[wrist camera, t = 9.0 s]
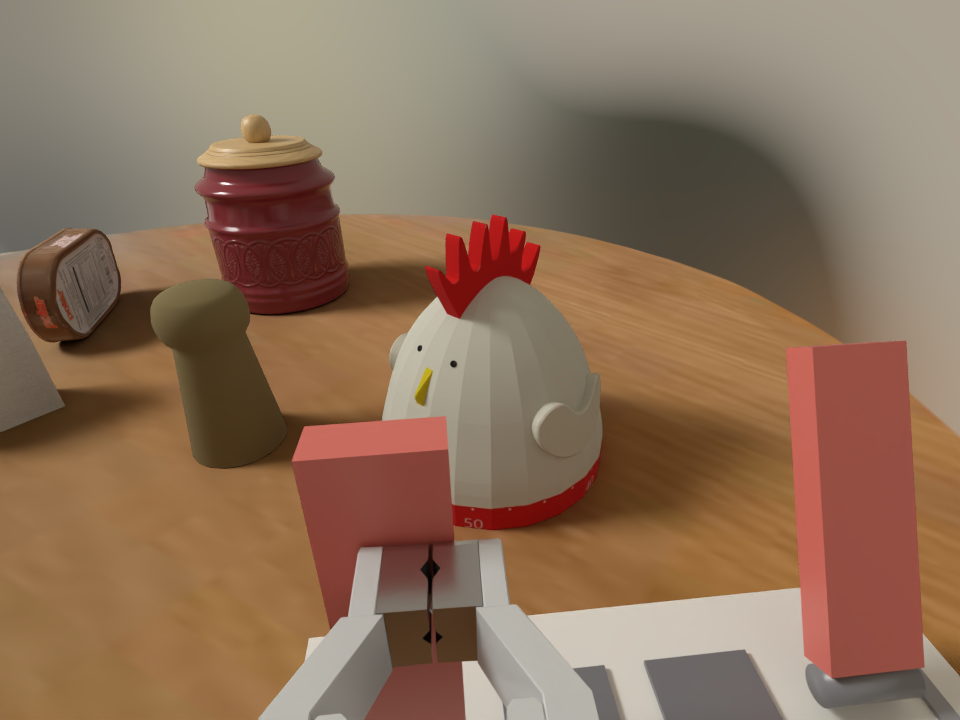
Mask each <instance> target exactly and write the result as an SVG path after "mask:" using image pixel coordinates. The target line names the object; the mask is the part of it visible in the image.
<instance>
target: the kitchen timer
mask: <svg viewBox="0 0 960 720" xmlns="http://www.w3.org/2000/svg"><path fill="white" fill-rule="evenodd" d="M525 238H526V232H525V231H521V230H516V229H511V230H510V232H509V231H508V222H507V218H506V217H501V216H497V215H492V217H491V221H490V228H489V230H488V225H487V224H484V223H480V222H475V221H473V223H472V228H471V234H470V242H469V252H468V255H467V251H466V248H465V244H464V242H463V239H462V238H461V237H459V236H455V235H451V234H446V276H445V275H444V274H443V273H442V272H441V271H440V270H437V269H434V268H431V267H428V266H425V269H426V273H427V276H428V279H429V281H430V284H431V286H432V287H433V289H434V291H435V293H436V295H437V297H436V298H435V299H434V300H433V302H432V303H431V304H430V305H429V306H428V307H427V308H426V309H425V310H424V311H423V312H422V314H421V315H420V316H419V317H418V319H417V320H416V321H415V323H414V324H413V326H412V327H411V329H410V331H409V332H408V333H405V334H402V335H400V336H399V337H398V338H397V339H396V340H395V342H394V344H393V346H392V348H391V350H390V354H389V363H390V366H391V369H392V370H393V373H392V376H391V380H390V384H389V389H388V393H387V397H386V401H385V406H384V411H383V417H382V421H386V420H399V419H413V418H427V417H440V416H446V424H447V438H448V452H449V468H450V483H451V499H452V514H453V525H455V526H460V527H469V528H478V529H487V530H497V529H506V528H515V527H524V526H529V525H532V524H535V523H538V522H540V521H543V520H546V519H549V518H551V517H554V516H557V515H559V514H561V513H562V512H563V511H565V510H566V509H568V508H569V507H570V506H572V505H573V504H574V503H576V502H577V501H579V500H580V499H581V498H583V496H584V495H585V493H586V492H587V490H588V489H589V487H590V486H591V485H592V483H593V482H594V480H595V479H596V477H597V471H598V465H599V459H600V453H601V445H602V437H603V427H602V417H601V412H600V390H601V382H600V375H599V374H598V373H593V374H591V372H590V369H589V366H588V363H587V359H586V356H585V353H584V351H583V348H582V346H581V344H580V342H579V340H578V338H577V336H576V334H575V332H574V331H573V329H572V328H571V326H570V324H569V323H568V322H567V320H566V319H565V318H564V316H563V315H562V314H561V313H560V312H559V310H558V309H557V308H556V307H555V306H554V305H553V304H552V303H551V302H550V301H549V300H548V299H547V298H546V297H545V296H544V295H543V294H542V293H541V292H539V291H538V290H537V289H535V288H534V287H532V286H531V285H530V283H531V281H532V278H533V275H534V272H535V268H536V265H537V261H538V257H539V252H540V245H537V244H533V243H528V242H527V243H526V245H525V248H524V244H525Z"/></svg>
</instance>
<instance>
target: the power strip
mask: <svg viewBox="0 0 960 720" xmlns="http://www.w3.org/2000/svg"><path fill="white" fill-rule="evenodd" d="M528 618H529V619H530V620H531V621H532V622H533V623H534V625H535V626H536V627H537V628H538V629H539V630H540V631H541V633H542V634H543V635H544V636H545V637H546V638H547V640H548V641H549V642H550V643H551V644H552V645H553V646H554V648H555V649H556V650H557V651H558V652H559V653H560V655H561V656H562V657H563V658H564V659H565V660H566V661H567V663H568V664H569V665H570V666H571V667H572V668H573V670H574V671H575V672H576V673H577V674H578V675H579V676H580V678H581V679H582V680H583V681H584V682H585V683H586V685H587V686H588V687H589V688H590V689H591V690H592V693H593V697H594V701H595V705H596V709H597V713H598V717H599V720H960V676H959V675H958V674H957V673H956V671H955V670H954V669H953V668H952V667H951V666H950V664H949V663H948V662H947V661H946V660H945V659H944V657H943V656H942V655H941V654H940V653H939V652H938V650H937V649H936V648H935V647H934V646H933V645H932V644H931V642H930V641H929V640H928V639H927V638H926V637H925V635H924V634H923V648H924V666H925V668H919V670H920V671H921V673H922V675H923V678H924V681H925V685H926V691H925V694H924V695H923V696H922V697H920V698H912V699H903V700H895V701H887V702H879V703H870V704H862V705H854V706H846V707H837V708H829V709H826V708H823V707H822V706H821V705H819V704H818V702H817V701H816V700H815V699H814V697H813V695H812V694H811V692H810V690H809V687H808V685H807V681H806V676H805V670H806V667H807V665H808V664H813V663H812V662H811V661H810V660H809V659H807V658H806V657H805V656H804V643H803V626H802V609H801V592H800V588H793V589H783V590H773V591H763V592H754V593H744V594H734V595H724V596H715V597H705V598H695V599H686V600H676V601H666V602H656V603H647V604H637V605H627V606H617V607H608V608H598V609H588V610H579V611H569V612H559V613H549V614H540V615H530V616H528ZM324 638H325V637H316V638H309V642H308V647H307V652H306V657H305V661H306V660H307V658H308V657H309V656H310V655H311V653H312V652H313V651H314V650H315V649H316V647H317V646H318V645H319V644H320V642H321V641H322V640H323V639H324ZM462 669H463V685H464V700H465V716H466V720H506V719H507V708H506V707H505V705H504V704H503V702H502V700H501V699H500V697H499V696H498V694H497V693H496V691H495V689H494V688H493V686H492V685H491V683H490V681H489V680H488V678H487V677H486V675H485V674H484V672H483V670H482V669H481V667H480V666H479V664H478V661H463V662H462Z"/></svg>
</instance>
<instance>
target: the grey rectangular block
mask: <svg viewBox="0 0 960 720" xmlns="http://www.w3.org/2000/svg"><path fill="white" fill-rule="evenodd" d="M62 407H65V405H64V403H63V401H62V399H61V397H60V395H59V393H58V391H57V389H56V387H55V385H54V383H53V381H52V379H51V377H50V376H49V374H48V372H47V370H46V368H45V366H44V364H43V362H42V360H41V358H40V356H39V354H38V352H37V350H36V348H35V346H34V345H33V343H32V341H31V339H30V337H29V335H28V333H27V332H26V330H25V328H24V327H23V325H22V323H21V322H20V320H19V318H18V317H17V315H16V313H15V312H14V310H13V308H12V307H11V305H10V303H9V301H8V300H7V298H6V296H5V295H4V293H3V291H2V289H1V288H0V432H2V431H5V430H7V429H10V428H12V427H15V426H17V425H20V424H22V423H25V422H27V421H30V420H32V419H35V418H37V417H40V416H42V415H45V414H47V413H50V412H52V411H55V410H57V409H60V408H62Z"/></svg>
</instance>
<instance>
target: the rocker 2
mask: <svg viewBox="0 0 960 720" xmlns="http://www.w3.org/2000/svg"><path fill="white" fill-rule="evenodd" d="M786 354H787V371H788V388H789V405H790V422H791V439H792V456H793V473H794V490H795V507H796V524H797V541H798V558H799V575H800V592H801V609H802V626H803V643H804V656H805V657H806V658H807V659H809V660H810V661H811V662H812V663H813V664H808V665H807V667H806V670H805V676H806V681H807V685H808V687H809V690H810V692H811V694H812V695H813V697H814V699H815V700H816V701H817V702H818V704H819V705H821V706H822V707H823V708H826V709H829V708H837V707H846V706H854V705H862V704H870V703H879V702H887V701H895V700H903V699H912V698H920V697H922V696H923V695H924V694H925V691H926V685H925V681H924V678H923V675H922V673H921V671H920V670H919V668H925V666H924V648H923V630H922V612H921V595H920V577H919V559H918V542H917V524H916V506H915V488H914V471H913V453H912V435H911V418H910V400H909V382H908V364H907V347H906V341H888V342H866V343H853V344H852V343H851V344H836V345H822V346H807V347H792V348H786Z"/></svg>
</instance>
